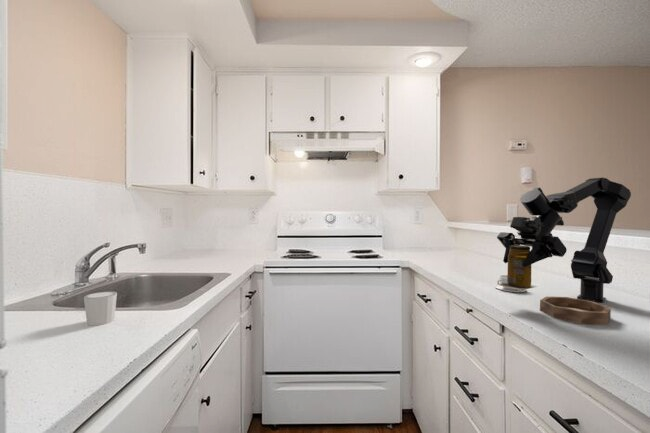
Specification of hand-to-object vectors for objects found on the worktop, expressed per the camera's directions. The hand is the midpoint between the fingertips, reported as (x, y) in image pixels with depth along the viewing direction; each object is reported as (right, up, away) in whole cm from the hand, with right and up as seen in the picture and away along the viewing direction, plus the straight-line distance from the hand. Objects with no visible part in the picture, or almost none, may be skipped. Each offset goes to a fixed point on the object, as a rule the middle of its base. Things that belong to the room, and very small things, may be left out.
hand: (513, 264), depth 91 cm
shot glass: (-113, -13, -13) cm, 115 cm away
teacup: (+13, -13, +23) cm, 29 cm away
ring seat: (+14, -13, -5) cm, 20 cm away
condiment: (+1, -7, 0) cm, 7 cm away
